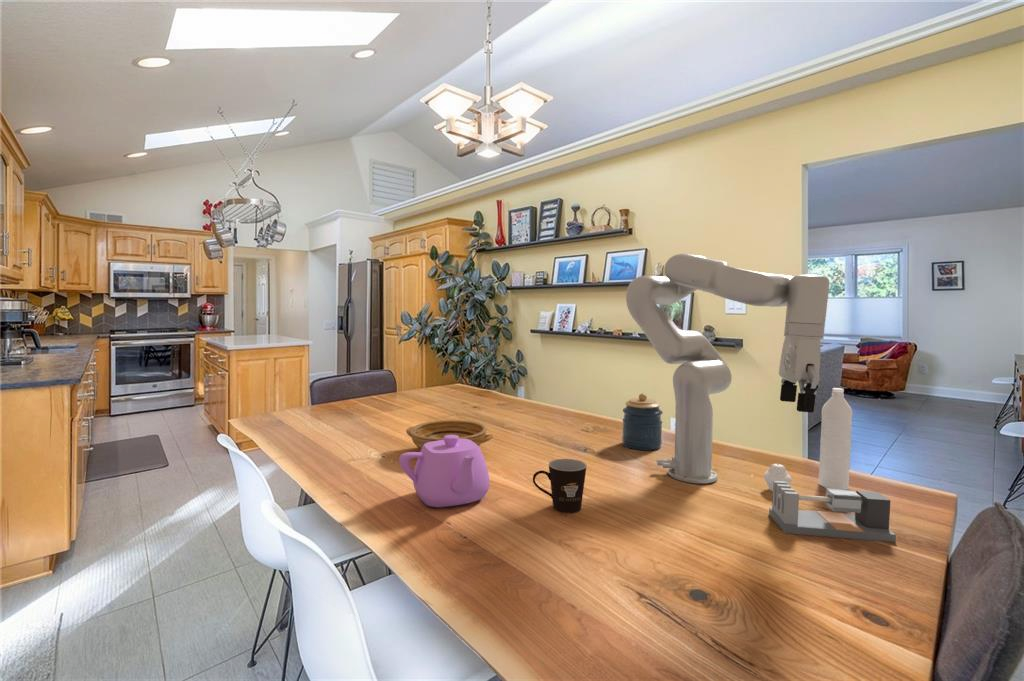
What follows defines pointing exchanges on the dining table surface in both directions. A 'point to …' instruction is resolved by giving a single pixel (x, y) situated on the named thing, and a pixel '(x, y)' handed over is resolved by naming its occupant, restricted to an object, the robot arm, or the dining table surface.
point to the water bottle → (835, 442)
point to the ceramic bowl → (448, 431)
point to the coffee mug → (565, 484)
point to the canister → (642, 424)
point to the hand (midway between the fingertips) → (795, 406)
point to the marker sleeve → (844, 500)
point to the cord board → (832, 516)
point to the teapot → (448, 472)
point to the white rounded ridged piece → (776, 475)
